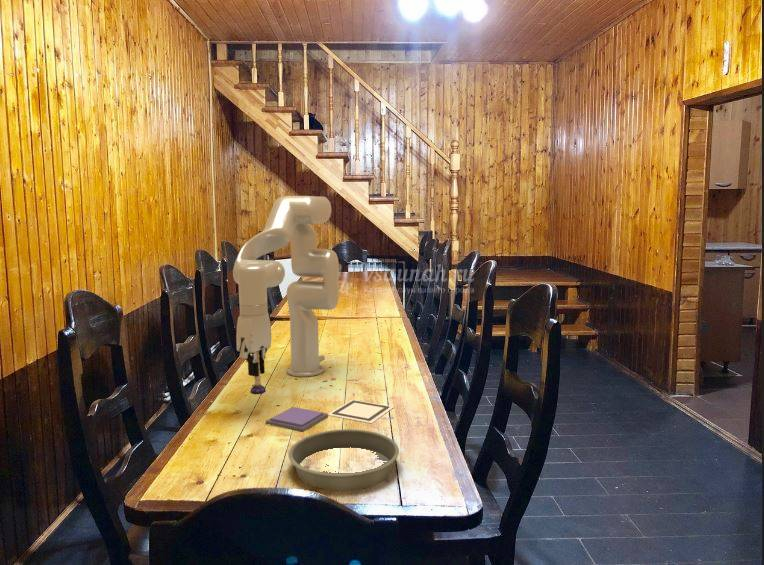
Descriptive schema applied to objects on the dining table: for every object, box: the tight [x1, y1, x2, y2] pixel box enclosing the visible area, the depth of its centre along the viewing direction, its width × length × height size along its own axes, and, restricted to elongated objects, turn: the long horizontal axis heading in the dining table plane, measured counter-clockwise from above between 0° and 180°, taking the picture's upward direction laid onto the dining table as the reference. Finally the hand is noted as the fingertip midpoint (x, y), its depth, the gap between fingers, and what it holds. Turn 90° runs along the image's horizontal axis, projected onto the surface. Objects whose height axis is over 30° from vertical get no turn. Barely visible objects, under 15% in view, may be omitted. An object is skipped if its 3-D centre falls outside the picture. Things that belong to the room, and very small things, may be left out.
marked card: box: [327, 399, 395, 424], centre depth 172 cm, size 14×14×1 cm
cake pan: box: [288, 428, 400, 491], centre depth 136 cm, size 25×25×4 cm
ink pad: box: [265, 406, 329, 433], centre depth 165 cm, size 12×12×1 cm
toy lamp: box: [250, 346, 267, 395], centre depth 169 cm, size 5×5×17 cm
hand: (256, 373), depth 169 cm, fingers closed on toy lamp
